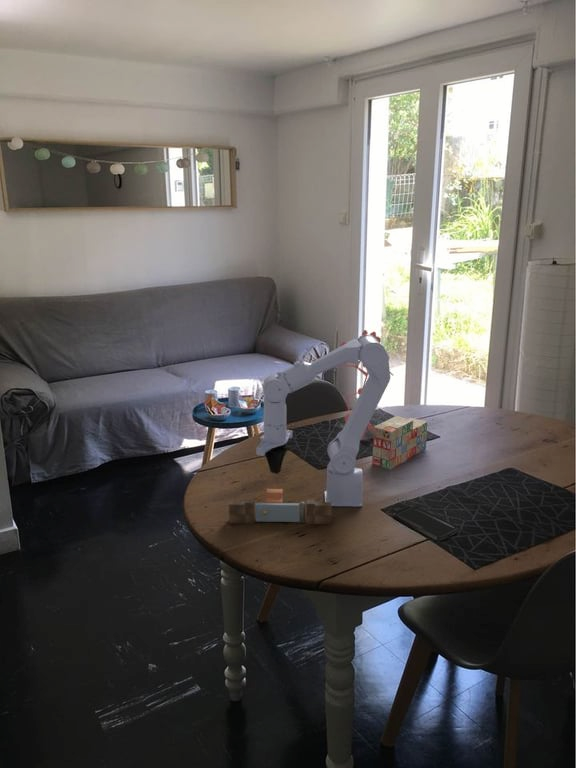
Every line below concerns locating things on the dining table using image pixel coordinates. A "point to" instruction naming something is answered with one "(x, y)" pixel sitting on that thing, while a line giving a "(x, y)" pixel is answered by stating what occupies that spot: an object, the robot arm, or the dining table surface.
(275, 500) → the orange block
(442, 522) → the phone
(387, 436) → the stack of blocks
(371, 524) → the dining table surface
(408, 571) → the dining table surface
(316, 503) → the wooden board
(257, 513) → the door
